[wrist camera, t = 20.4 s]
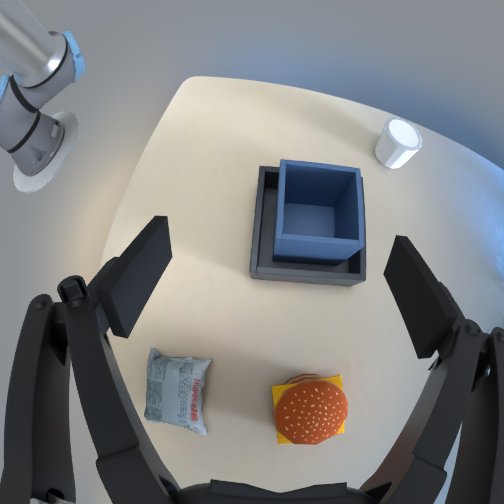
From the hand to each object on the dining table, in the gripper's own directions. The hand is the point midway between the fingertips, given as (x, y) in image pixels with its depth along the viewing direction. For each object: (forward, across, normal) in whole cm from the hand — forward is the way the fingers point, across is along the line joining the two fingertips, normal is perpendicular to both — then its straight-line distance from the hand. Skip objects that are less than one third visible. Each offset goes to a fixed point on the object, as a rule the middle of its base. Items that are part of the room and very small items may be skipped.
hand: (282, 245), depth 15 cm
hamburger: (+5, +6, -27) cm, 28 cm away
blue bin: (+21, +4, -10) cm, 23 cm away
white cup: (+33, +19, +1) cm, 38 cm away
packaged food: (+5, -11, -27) cm, 30 cm away
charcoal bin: (+22, +4, -10) cm, 24 cm away
